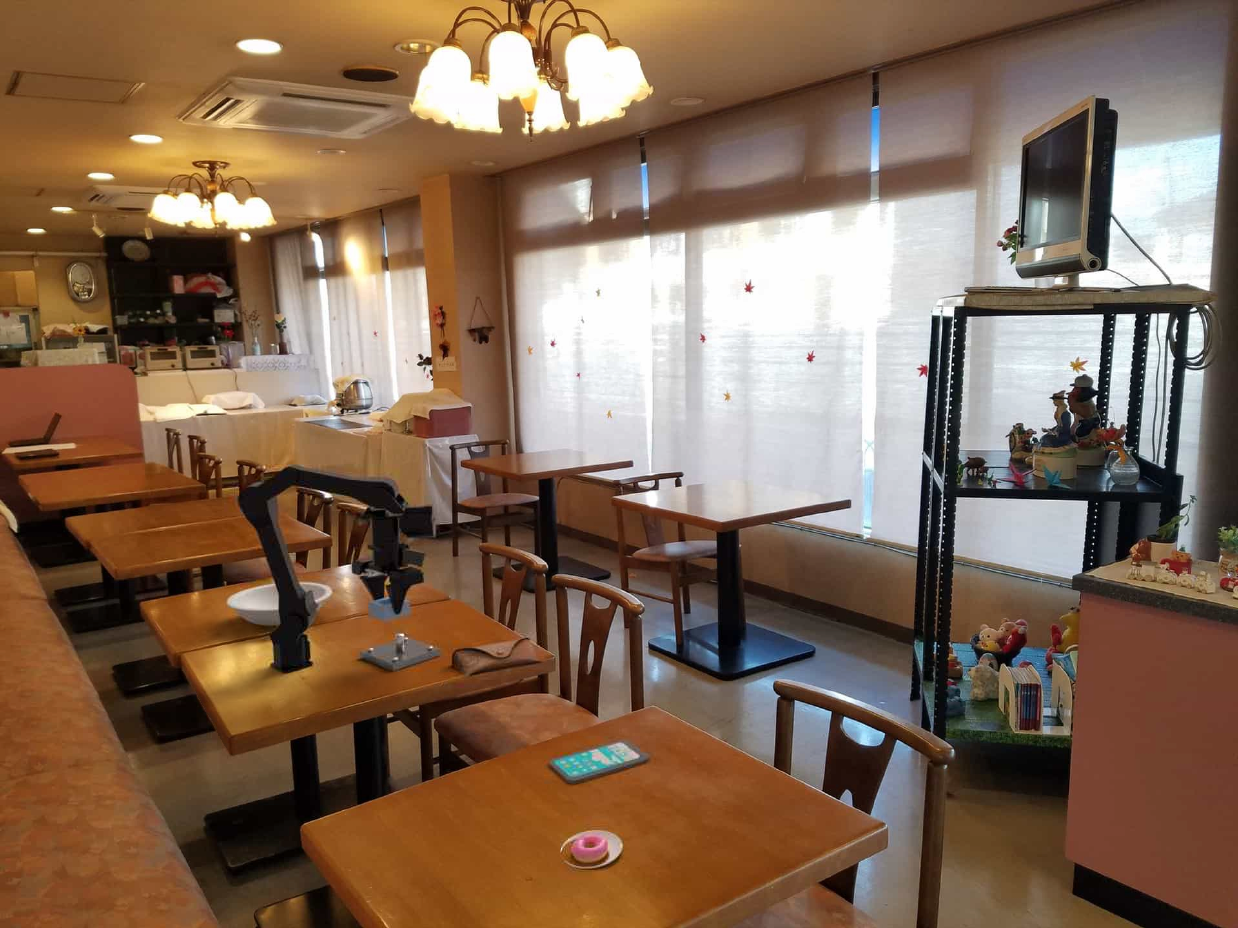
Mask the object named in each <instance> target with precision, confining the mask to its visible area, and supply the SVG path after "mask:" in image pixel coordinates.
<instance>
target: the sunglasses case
mask: <svg viewBox="0 0 1238 928" xmlns="http://www.w3.org/2000/svg"><path fill="white" fill-rule="evenodd" d="M542 662H543V660H542V659H540V657H539V656H538V654H537V652H536V650H535V648H534V647H533V644H532V643H531V640H530V638H529V637H521V638H518V639H516V640H510V641H508V640H507V641H502V642H501V641H500V642H495V643H494V642H493V643H489V644H484V645H480V646H479V645H478V646H474V647H462V648H457V649H455V650H454V651H453V652H452V653H451V665H452V666H453V667H454V668H455V669H456V670H458V671H459V672H460V674H462V675H465V677H470V676H474V675H478V674H481V673H487V672H492V671H496V670H502V669H508V668H512V667H518V666H525V665H530V664H537V663H538V664H539V663H542Z"/></svg>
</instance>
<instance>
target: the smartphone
mask: <svg viewBox="0 0 1238 928" xmlns="http://www.w3.org/2000/svg"><path fill="white" fill-rule="evenodd" d="M649 761H650V756H649V754H648V753H646V752H645V751H643V749H641V748H639V747H637V745H635V744H633V743H632V742H631V741H630V740H625V739H622V740H617V741H613V742H609V743H604V744H602V745H598V746H595V747H592V748H588V749H585V750H580V751H577V752H573V753H570V754H569V753H568V754H565V755H562V756H559V757H555V758H553V759H550V760H549V762H548V767H550V768H551V769H552V770H553V772H555V773H556V774H557V775H558V776H560V778H562V779H563V780H564V781H565V782H566V783H568V784H572V785H573V784H579V783H582V782H583V783H584V782H586V781H589V780H594V779H598V778H599V777H603V776H607V775H610V774H613V773H615V772H619V771H622V770H626V769H629V768H633V767H636V766H640V765H643V764H645V763H647V762H649Z"/></svg>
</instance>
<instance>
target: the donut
mask: <svg viewBox="0 0 1238 928" xmlns="http://www.w3.org/2000/svg"><path fill="white" fill-rule="evenodd" d="M573 840H575V841H574V842H573V844H572V845H571V849H570V853H571V854H572V856H573V858H574V859H575V860H576V861H578V862H580V863H586V864H590V863H596V862H599V861H601V860H602V859H603V858H605V857H606V855H607V853H608V858H607V859H606V860H605V862H603V863H601V864H598V865H594V866H579V865H578V866H577V865H574V864H572V863H569V862H567V861H566V860H564V861H565V863H567V864H568V865H570V866H572V867H574V868H579V869H594V868H600V867H602V866H603V867H604V866H606V865H608V864H610V863H612V862H613V861H615V860H616V859H617V858H618V857H619V856H620V854H621V852H622V850H623V842H622V840H621V838H620V837H618V836H617V835H616V834H614V833H612V832H610V831H606V830H600V829H599V830H598V829H597V830H595V829H594V830H588V831H587V830H586V831H583V832H582V831H581V832H579V833H577V834H574V835H572V836H570V837H569V838H568V839H566V840H565V842H563V844H562V846H561V849H560V851H562V849H563V848H564V847H565V845H567V844H569V843H570V842H572V841H573Z"/></svg>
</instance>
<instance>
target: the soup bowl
mask: <svg viewBox="0 0 1238 928" xmlns="http://www.w3.org/2000/svg"><path fill="white" fill-rule="evenodd" d="M299 584H300V586H301V587H302V588H303V589H304V590H305V592H307V591H309V590H312V591H313V595H314V600H315V602H316V604H317V605H318V608H317V609H316V611H317V612H318V610H320V609H321V607H322V606H323V604H324V603H325V601H326V600H327V599H328V598H329V597H331V596H332V594H333V590H332V588H330V587H329V586H328V585H325V584H322V583H316V582H306V581H305V582H303V581H301V582H299ZM278 599H279V596H278V591H277V588H276V586H275V583H271V584H265V585H259V586H255V587H251V588H246V589H243V590H241V591H238V592H236V593H234V594H232V595H231V596H229V597H228V598H227V599H226V602H225V603H226V605H227V607H228V608H230V609H232V610H235V612H236V613H237V614H238V615H239V616H240V617H241V618H243V619H244V620H246V621H247V622H249V623H252V624H255V625H260V626H266V627H267V626H269V627H270V626H276V627H277V626H278V625H279V624H280V618H279V611H278Z"/></svg>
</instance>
